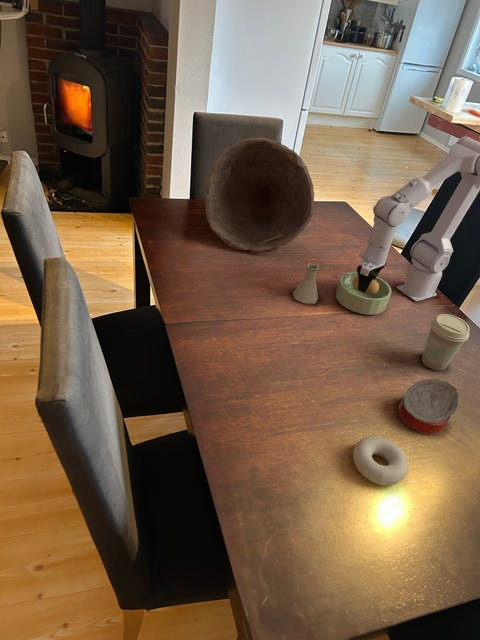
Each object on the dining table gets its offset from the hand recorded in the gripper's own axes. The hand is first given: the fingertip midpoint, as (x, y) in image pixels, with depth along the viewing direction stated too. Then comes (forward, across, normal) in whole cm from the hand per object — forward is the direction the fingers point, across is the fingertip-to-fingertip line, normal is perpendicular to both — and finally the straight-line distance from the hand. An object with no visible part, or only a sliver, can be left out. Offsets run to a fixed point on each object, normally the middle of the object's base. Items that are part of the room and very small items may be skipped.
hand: (364, 287), depth 130 cm
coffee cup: (+5, +13, +24) cm, 28 cm away
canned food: (+5, +34, +26) cm, 43 cm away
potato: (+1, 0, 0) cm, 1 cm away
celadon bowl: (+5, 0, 0) cm, 5 cm away
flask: (+5, +9, -13) cm, 17 cm away
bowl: (+5, -14, -41) cm, 43 cm away
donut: (+5, +52, +22) cm, 57 cm away
